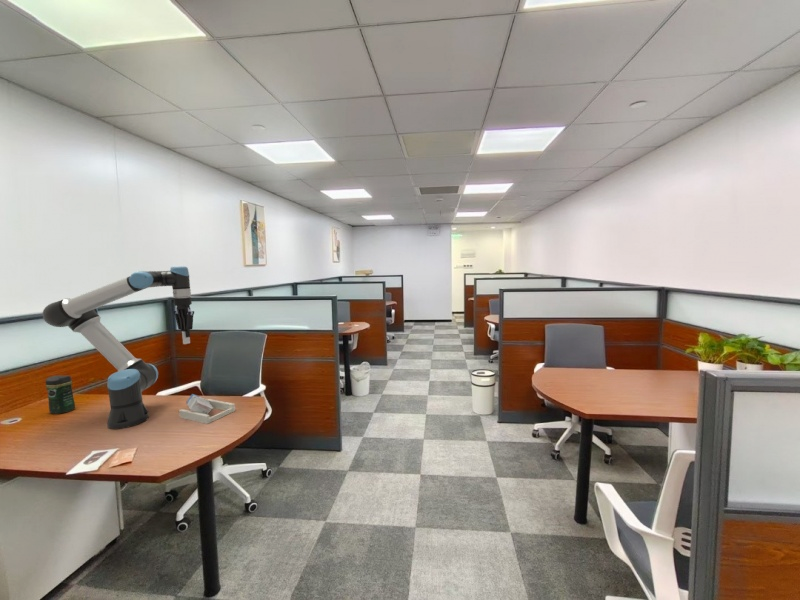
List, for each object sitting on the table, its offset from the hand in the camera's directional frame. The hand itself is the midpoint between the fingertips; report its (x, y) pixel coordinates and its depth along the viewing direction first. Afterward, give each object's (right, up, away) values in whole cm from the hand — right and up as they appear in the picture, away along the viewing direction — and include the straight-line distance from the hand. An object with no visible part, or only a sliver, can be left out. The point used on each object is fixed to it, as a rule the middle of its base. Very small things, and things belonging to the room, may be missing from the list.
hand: (186, 343), depth 173 cm
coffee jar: (-64, -35, +1) cm, 73 cm away
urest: (+15, -33, -9) cm, 37 cm away
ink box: (+8, -28, -4) cm, 30 cm away
